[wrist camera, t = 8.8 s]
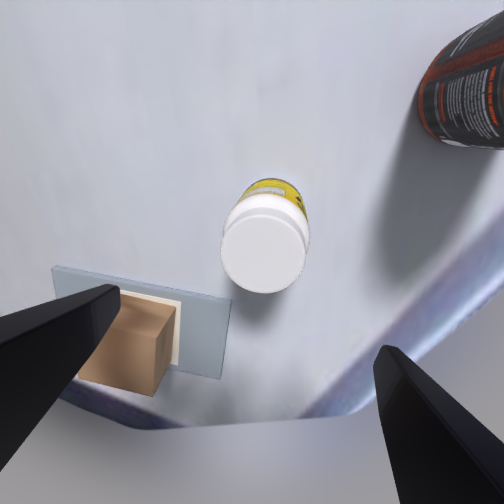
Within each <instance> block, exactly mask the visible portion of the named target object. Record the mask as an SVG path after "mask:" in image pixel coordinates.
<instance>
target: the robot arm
mask: <svg viewBox="0 0 504 504" xmlns="http://www.w3.org/2000/svg"><path fill="white" fill-rule="evenodd" d="M120 308H121V296H120V288H119V286H117V285H113V284H103V285H100V286H97V287H94V288H91V289H87V290H84V291H81V292H78V293H75V294H72V295H69V296H65V297H62V298H59V299H56V300H53V301H50V302H46V303H43V304H40V305H37V306H34V307H31V308H27V309H24V310H21V311H18V312H15V313H12V314H8V315H5V316H2V317H0V472H1V470H2V469H3V468H4V466H5V465H6V464H7V463H8V461H9V460H10V459H11V457H12V456H13V455H14V454H15V452H16V451H17V450H18V448H19V447H20V446H21V445H22V443H23V442H24V441H25V439H26V438H27V437H28V436H29V434H30V433H31V432H32V430H33V429H34V428H35V427H36V425H37V424H38V423H39V421H40V420H41V419H42V418H43V416H44V415H45V414H46V413H47V411H48V410H49V409H50V407H51V406H52V405H53V403H54V402H55V401H56V400H57V398H58V397H59V396H60V395H61V393H62V392H63V391H64V389H65V388H66V387H67V386H68V384H69V383H70V382H71V380H72V379H73V378H74V377H75V375H76V374H77V373H78V371H79V370H80V369H81V368H82V366H83V365H84V364H85V363H86V361H87V360H88V359H89V357H90V356H91V355H92V353H93V352H94V351H95V349H96V348H97V346H98V345H99V343H100V342H101V340H102V339H103V337H104V335H105V334H106V332H107V331H108V329H109V327H110V326H111V324H112V323H113V321H114V319H115V318H116V316H117V315H118V313H119V311H120ZM373 372H374V380H375V388H376V395H377V403H378V410H379V417H380V421H381V426H382V430H383V434H384V438H385V442H386V446H387V450H388V455H389V459H390V463H391V467H392V471H393V476H394V480H395V484H396V488H397V492H398V496H399V501H400V504H504V444H503V442H502V441H501V440H499V439H498V438H497V437H496V436H495V435H494V434H493V433H492V432H491V431H489V430H488V429H487V428H486V427H485V426H484V425H483V424H481V422H480V421H478V420H477V419H476V418H475V417H474V416H473V415H472V414H471V413H470V412H468V411H467V410H466V409H465V408H464V407H463V406H462V405H461V404H460V403H458V402H457V401H456V400H455V399H454V398H453V397H452V396H451V395H450V394H448V393H447V392H446V391H445V390H444V389H443V388H442V387H441V386H440V385H439V384H437V383H436V382H435V381H434V380H433V379H432V378H431V377H429V375H427V374H426V373H425V372H424V371H423V370H422V369H421V368H420V367H419V366H418V365H416V364H415V363H414V362H413V361H412V360H411V359H410V358H409V357H408V356H406V355H405V354H404V353H403V352H402V351H401V350H400V349H399V348H397V347H395V346H390V345H383V346H382V347H381V349H380V351H379V353H378V355H377V357H376V359H375V361H374V364H373Z"/></svg>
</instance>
